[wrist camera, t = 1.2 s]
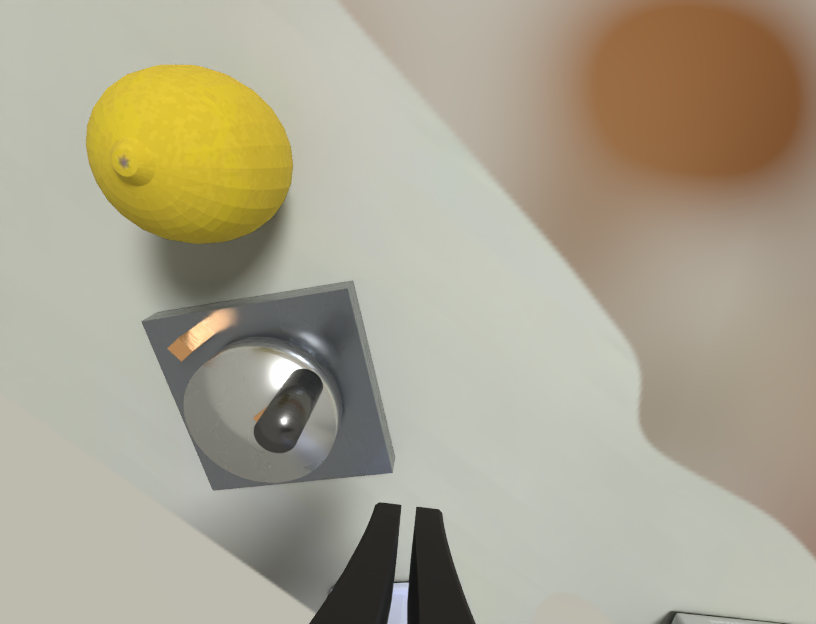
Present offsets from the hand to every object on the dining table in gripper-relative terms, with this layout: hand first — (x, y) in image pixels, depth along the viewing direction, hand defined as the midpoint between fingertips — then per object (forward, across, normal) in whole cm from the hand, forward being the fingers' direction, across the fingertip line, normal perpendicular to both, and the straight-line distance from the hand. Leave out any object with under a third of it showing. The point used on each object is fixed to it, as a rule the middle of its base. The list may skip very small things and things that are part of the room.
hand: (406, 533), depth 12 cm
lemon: (+10, +8, -9) cm, 16 cm away
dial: (+9, +7, +2) cm, 11 cm away
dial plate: (+10, +7, +2) cm, 12 cm away
